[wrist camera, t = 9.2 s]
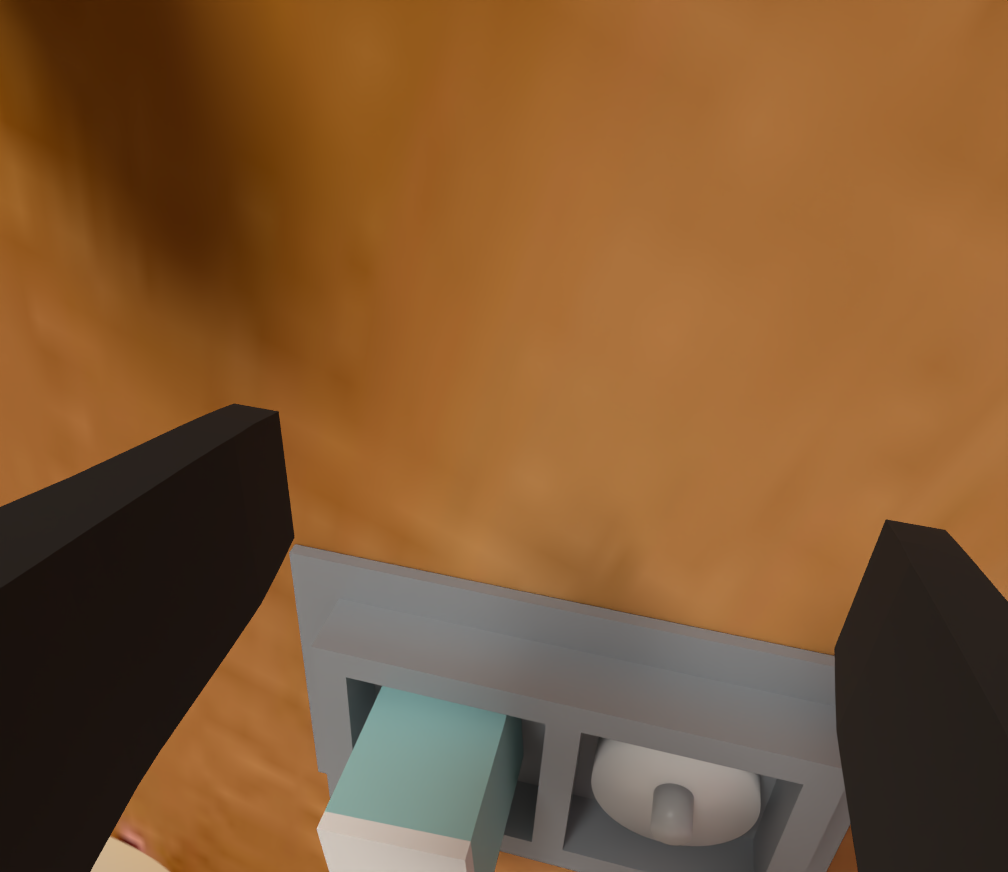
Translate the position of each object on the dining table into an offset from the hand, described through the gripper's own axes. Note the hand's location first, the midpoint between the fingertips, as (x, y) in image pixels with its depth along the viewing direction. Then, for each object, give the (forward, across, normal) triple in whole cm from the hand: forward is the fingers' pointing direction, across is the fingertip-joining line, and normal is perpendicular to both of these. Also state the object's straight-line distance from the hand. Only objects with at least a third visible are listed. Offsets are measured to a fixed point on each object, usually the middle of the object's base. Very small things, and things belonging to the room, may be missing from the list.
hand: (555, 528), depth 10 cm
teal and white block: (+9, +4, +16) cm, 19 cm away
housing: (+9, 0, +16) cm, 19 cm away
